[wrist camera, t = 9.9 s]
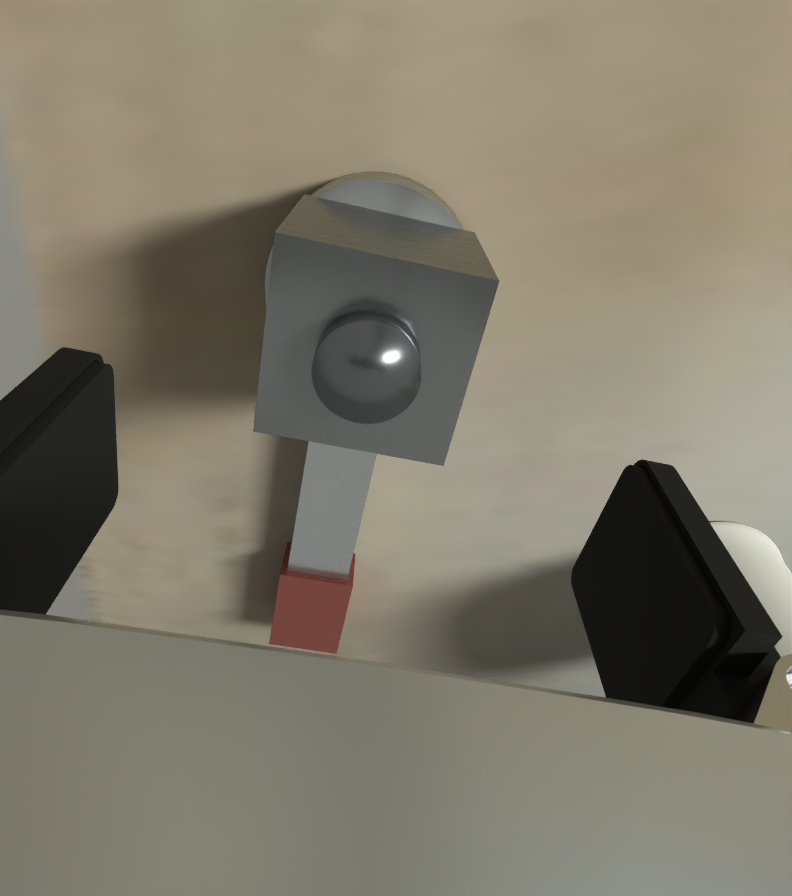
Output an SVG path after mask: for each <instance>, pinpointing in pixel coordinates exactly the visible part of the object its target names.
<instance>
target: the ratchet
mask: <svg viewBox="0 0 792 896" xmlns="http://www.w3.org/2000/svg"><path fill="white" fill-rule="evenodd" d="M310 196H315V197H319V198H324V199H328V200H332V201H337V202H341V203H346V204H350V205H355V206H359V207H364V208H368V209H372V210H377V211H381V212H386V213H390V214H395V215H399V216H404V217H408V218H412V219H417V220H421V221H426V222H430V223H435V224H439V225H444V226H448V227H452V228H457V229H461V230H464V229H463V227H462V224H461V223H460V221H459V220H458V218H457V216H456V215H455V213H454V212H453V211H452V210H451V208H450V207H449V206H448V205H447V204H446V203H445V202H444V201H443V200H442V199H441V198H440V197H439V196H438V195H437V194H435V193H434V192H433V191H431V190H430V189H428V188H427V187H425V186H424V185H422V184H420V183H418V182H416V181H414V180H412V179H410V178H406V177H403V176H400V175H397V174H392V173H385V172H362V173H354V174H350V175H347V176H343V177H340V178H337V179H335V180H333V181H331V182H328V183H326V184H325V185H323V186H322V187H320V188H318V189H317V190H315V191H314V192H313V193H312V194H311V195H310ZM272 252H273V246H272V249H271V252H270V255H269V258H268V261H267V267H266V273H265V299H266V306H267V298H268V289H269V280H270V270H271V261H272ZM376 455H377V454H376V453H370V452H365V451H359V450H354V449H348V448H343V447H337V446H332V445H326V444H321V443H315V442H310V441H309V442H308V448H307V454H306V460H305V466H304V472H303V478H302V484H301V491H300V497H299V503H298V509H297V515H296V521H295V527H294V533H293V539H292V544H291V543H287V547H286V551H285V556H284V560H283V564H282V568H281V573H280V578H279V584H278V591H277V597H276V604H275V610H274V616H273V623H272V629H271V635H270V642H269V644H274V645H281V646H287V647H294V648H301V649H308V650H315V651H322V652H329V653H337V649H338V644H339V640H340V636H341V632H342V628H343V624H344V620H345V616H346V611H347V607H348V603H349V599H350V595H351V591H352V587H353V576H354V564H355V554H353V553H354V548H355V544H356V540H357V536H358V531H359V527H360V523H361V519H362V514H363V510H364V506H365V502H366V497H367V493H368V489H369V484H370V480H371V476H372V472H373V467H374V463H375V459H376Z"/></svg>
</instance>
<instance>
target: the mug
mask: <svg viewBox="0 0 792 896" xmlns="http://www.w3.org/2000/svg"><path fill="white" fill-rule="evenodd" d="M710 524H711V525H712V527H713V529H714V530H715V532H716V533H717V535H718V536H719V538H720V540H721V541H722V543H723V544H724V546H725V547H726V549H727V550H728V552H729V554H730V555H731V557H732V558H733V560H734V561H735V563H736V565H737V566H738V568H739V569H740V571H741V572H742V574H743V576H744V577H745V579H746V580H747V582H748V583H749V585H750V586H751V588H752V590H753V591H754V593H755V594H756V596H757V597H758V599H759V601H760V602H761V604H762V605H763V607H764V608H765V610H766V611H767V613H768V615H769V616H770V618H771V619H772V621H773V622H774V624H775V626H776V627H777V629H778V630H779V632H780V633H781V635H782V636H783V637H782V638H781V639H780V640H779V642H778V643H777V644H776V645H775V646H774V647H775V648H776V650H777V652H778V653H779V655H780V656H781V657H782V656H785V655H789V654H792V573H791V572H790V570H789V569H788V568H787V566H786V565H785V563H784V561H783V558H782V556H781V553H780V551H779V550H778V548H777V546H776V545H775V544H774V543H773V541H772V540H771V539H770V538H768V537H767V536H766V535H765V534H763V533H762V532H760V531H758V530H756V529H754V528H752V527H749V526H746V525H742V524H738V523H732V522H710Z"/></svg>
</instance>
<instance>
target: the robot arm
mask: <svg viewBox="0 0 792 896" xmlns="http://www.w3.org/2000/svg"><path fill="white" fill-rule="evenodd" d="M117 495H118V468H117V444H116V421H115V397H114V374H113V369H112V366H111V365H109V364H104V363H103V359H102V357H101V356H100V355H99V354H97V353H91V352H86V351H81V350H76V349H71V348H65V347H63V348H61V349H59V350H58V351H57V352H56V353H55V354H53V355H52V356H51V357H50V358H49V359H48V360H46V361H45V362H44V363H43V364H42V365H41V366H40V367H38V368H37V369H36V370H35V371H34V372H33V373H32V374H30V375H29V376H28V377H27V378H26V379H25V380H23V381H22V382H21V383H20V384H19V385H18V386H17V387H15V388H14V389H13V390H12V391H11V392H10V393H9V394H7V395H6V396H5V397H4V398H3V399H2V400H0V896H792V654H789V655H785V656H782V657H781V656H780V655H779V653H778V652H777V650H776V648H775V647H774V646H775V645H776V644H777V643H778V642H779V640H780V639H781V638H782V637H783V636H782V635H781V633H780V632H779V630H778V629H777V627H776V626H775V624H774V622H773V621H772V619H771V618H770V616H769V615H768V613H767V611H766V610H765V608H764V607H763V605H762V604H761V602H760V601H759V599H758V597H757V596H756V594H755V593H754V591H753V590H752V588H751V586H750V585H749V583H748V582H747V580H746V579H745V577H744V576H743V574H742V572H741V571H740V569H739V568H738V566H737V565H736V563H735V561H734V560H733V558H732V557H731V555H730V554H729V552H728V550H727V549H726V547H725V546H724V544H723V543H722V541H721V540H720V538H719V536H718V535H717V533H716V532H715V530H714V529H713V527H712V525H711V524H710V522H709V521H708V519H707V518H706V516H705V515H704V513H703V511H702V510H701V508H700V507H699V505H698V504H697V502H696V500H695V499H694V497H693V496H692V494H691V493H690V491H689V489H688V488H687V486H686V485H685V483H684V482H683V480H682V479H681V477H680V475H679V474H678V472H677V471H676V469H675V468H674V467H673V466H671V465H667V464H662V463H657V462H652V461H647V460H639V461H637V462H636V463H635V464H634V466H633V465H629V466H627V467H626V468H625V469H624V470H623V472H622V474H621V476H620V478H619V480H618V482H617V484H616V486H615V488H614V489H613V491H612V493H611V495H610V497H609V499H608V501H607V503H606V505H605V507H604V509H603V511H602V513H601V515H600V517H599V519H598V521H597V522H596V524H595V526H594V528H593V530H592V532H591V534H590V536H589V538H588V540H587V542H586V544H585V546H584V548H583V550H582V552H581V553H580V555H579V557H578V559H577V561H576V563H575V565H574V568H573V571H572V576H571V583H572V588H573V591H574V594H575V598H576V601H577V604H578V607H579V611H580V614H581V617H582V620H583V624H584V627H585V630H586V633H587V637H588V640H589V643H590V646H591V650H592V653H593V656H594V659H595V662H596V666H597V669H598V672H599V675H600V679H601V682H602V685H603V688H604V692H605V695H606V698H604V697H598V696H592V695H585V694H579V693H572V692H566V691H560V690H553V689H547V688H540V687H534V686H528V685H521V684H515V683H508V682H502V681H495V680H489V679H483V678H476V677H470V676H463V675H456V674H450V673H443V672H437V671H430V670H423V669H417V668H410V667H404V666H397V665H390V664H384V663H377V662H370V661H364V660H357V659H350V658H344V657H337V656H330V655H323V654H317V653H310V652H303V651H297V650H290V649H283V648H276V647H269V646H262V645H255V644H249V643H242V642H235V641H228V640H221V639H214V638H207V637H200V636H193V635H186V634H179V633H173V632H166V631H159V630H152V629H145V628H138V627H131V626H124V625H117V624H110V623H103V622H95V621H88V620H81V619H74V618H67V617H59V616H52V615H45V614H46V613H47V611H48V610H49V608H50V606H51V605H52V603H53V602H54V600H55V599H56V597H57V595H58V594H59V592H60V591H61V589H62V588H63V586H64V584H65V583H66V581H67V580H68V578H69V577H70V575H71V573H72V572H73V570H74V569H75V567H76V566H77V564H78V562H79V561H80V559H81V558H82V556H83V555H84V553H85V551H86V550H87V548H88V547H89V545H90V544H91V542H92V540H93V539H94V537H95V536H96V534H97V533H98V531H99V529H100V528H101V526H102V525H103V523H104V522H105V520H106V519H107V517H108V515H109V514H110V512H111V511H112V509H113V507H114V505H115V503H116V499H117Z"/></svg>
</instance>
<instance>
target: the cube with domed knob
mask: <svg viewBox="0 0 792 896" xmlns="http://www.w3.org/2000/svg"><path fill="white" fill-rule="evenodd" d="M498 283H499V279H498V277H497V276H496V274H495V272H494V270H493V268H492V266H491V264H490V262H489V260H488V258H487V256H486V254H485V252H484V250H483V248H482V246H481V244H480V242H479V240H478V238H477V237H476V235H475V233H474V232H470V231H466V230H461V229H457V228H452V227H448V226H444V225H439V224H435V223H430V222H426V221H421V220H417V219H412V218H408V217H404V216H399V215H395V214H390V213H386V212H381V211H377V210H372V209H368V208H364V207H359V206H355V205H350V204H346V203H341V202H337V201H332V200H328V199H324V198H319V197H315V196H310V195H306V194H304V195H303V197H302V198H301V199H300V200H299V202H298V203H297V204H296V205H295V207H294V208H293V209H292V211H291V212H290V213H289V214H288V216H287V217H286V218H285V219H284V221H283V222H282V223H281V225H280V226H279V227H278V228H277V230H276V231H275V233H274V242H273V252H272V261H271V270H270V280H269V289H268V298H267V308H266V317H265V326H264V336H263V345H262V354H261V364H260V373H259V382H258V392H257V401H256V410H255V420H254V429H253V431H254V432H260V433H265V434H271V435H276V436H282V437H287V438H293V439H298V440H304V441H310V442H315V443H321V444H326V445H332V446H337V447H343V448H348V449H354V450H359V451H365V452H370V453H376V454H381V455H387V456H392V457H398V458H404V459H409V460H415V461H420V462H426V463H431V464H437V465H442V466H443V465H444V462H445V459H446V456H447V452H448V449H449V446H450V442H451V439H452V436H453V432H454V429H455V426H456V422H457V419H458V416H459V412H460V409H461V406H462V403H463V399H464V396H465V393H466V389H467V386H468V383H469V379H470V376H471V373H472V369H473V366H474V363H475V360H476V356H477V353H478V350H479V346H480V343H481V340H482V336H483V333H484V330H485V326H486V323H487V320H488V316H489V313H490V310H491V307H492V303H493V300H494V297H495V293H496V290H497V287H498Z"/></svg>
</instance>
